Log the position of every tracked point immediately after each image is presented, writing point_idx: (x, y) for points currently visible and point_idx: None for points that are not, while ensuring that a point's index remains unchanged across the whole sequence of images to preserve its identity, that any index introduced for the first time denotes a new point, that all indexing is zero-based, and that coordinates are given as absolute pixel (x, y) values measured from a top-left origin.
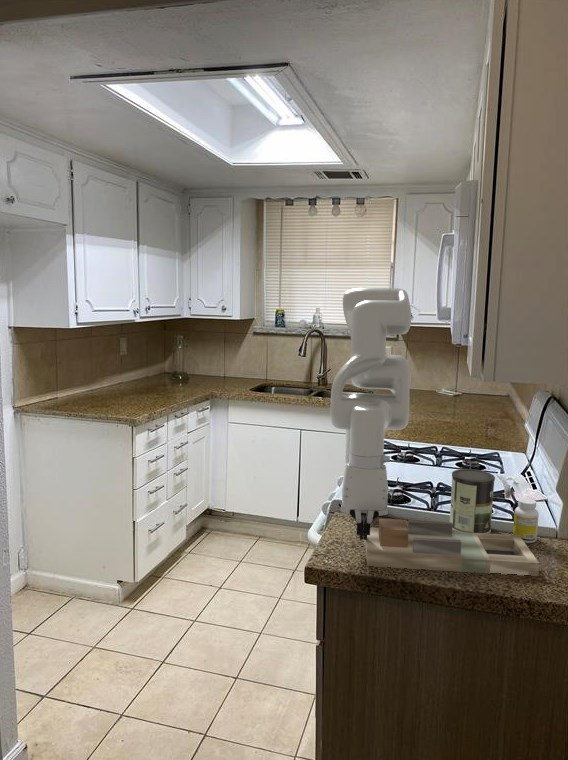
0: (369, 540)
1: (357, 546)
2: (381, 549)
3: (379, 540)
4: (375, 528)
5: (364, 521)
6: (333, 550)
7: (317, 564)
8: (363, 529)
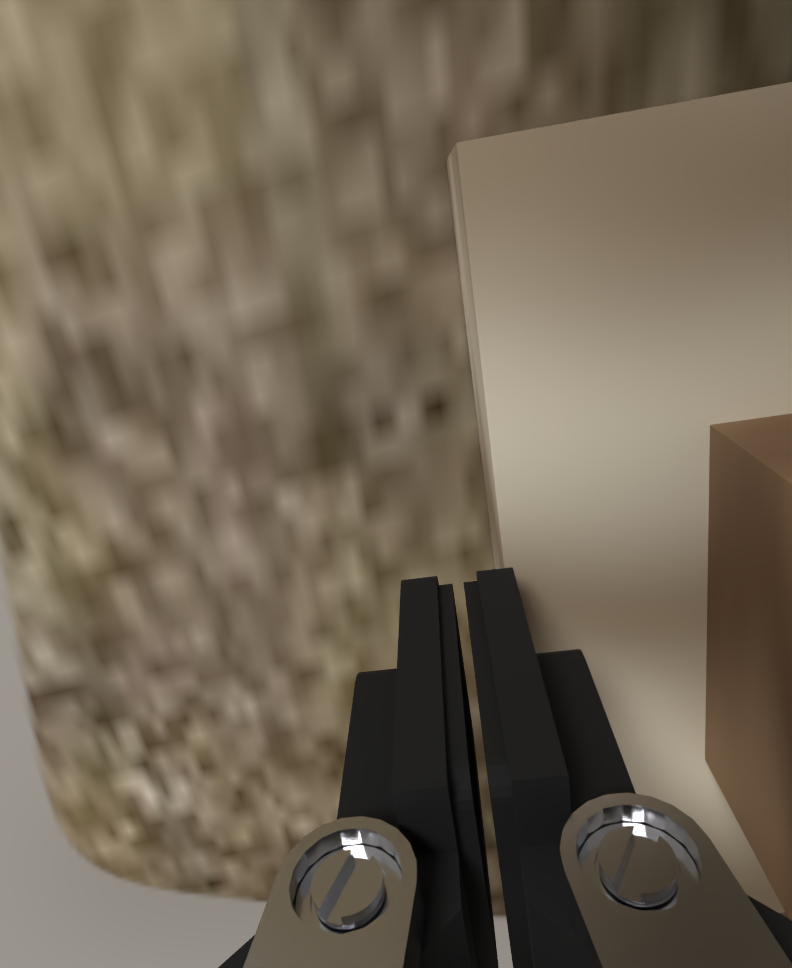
0: (559, 647)
1: (381, 428)
2: (710, 828)
3: (707, 613)
4: (671, 151)
5: (511, 886)
6: (141, 592)
7: (97, 854)
8: (470, 636)
